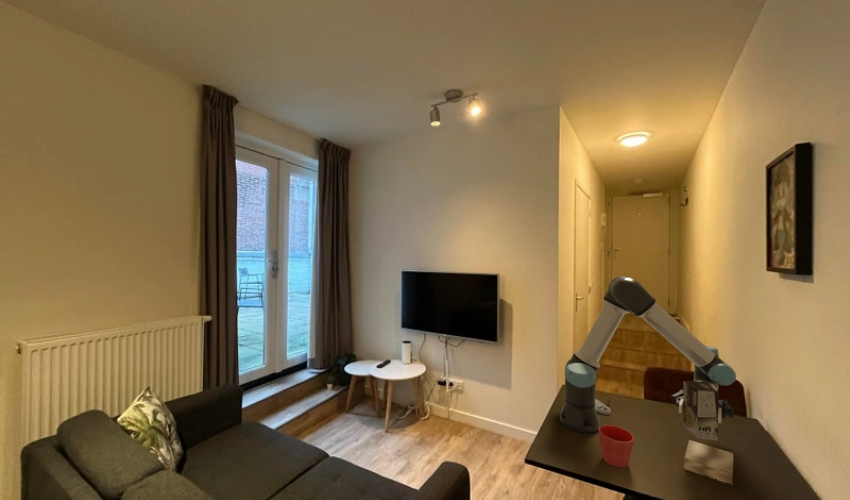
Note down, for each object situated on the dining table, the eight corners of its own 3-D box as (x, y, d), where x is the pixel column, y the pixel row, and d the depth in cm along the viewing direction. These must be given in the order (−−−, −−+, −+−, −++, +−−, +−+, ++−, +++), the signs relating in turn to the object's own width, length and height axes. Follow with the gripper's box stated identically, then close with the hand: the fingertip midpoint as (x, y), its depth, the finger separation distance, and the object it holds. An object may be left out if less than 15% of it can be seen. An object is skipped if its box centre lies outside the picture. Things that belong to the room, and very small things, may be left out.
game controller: (580, 401, 169) (580, 397, 169) (605, 399, 170) (605, 395, 170) (600, 415, 154) (600, 411, 154) (627, 414, 155) (627, 410, 155)
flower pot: (631, 456, 123) (632, 428, 123) (635, 474, 113) (635, 444, 113) (597, 448, 128) (598, 422, 128) (598, 465, 118) (599, 437, 118)
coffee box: (719, 440, 115) (719, 391, 115) (697, 438, 116) (697, 390, 116) (702, 426, 124) (703, 381, 124) (682, 425, 125) (682, 379, 125)
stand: (684, 468, 117) (684, 456, 117) (689, 450, 127) (689, 439, 127) (732, 485, 109) (732, 472, 108) (733, 465, 119) (733, 453, 119)
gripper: (743, 412, 126) (744, 437, 109) (668, 394, 141) (659, 414, 124) (743, 391, 126) (744, 413, 109) (668, 376, 141) (659, 393, 124)
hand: (699, 413), depth 116 cm, fingers closed on coffee box, 10 cm apart
